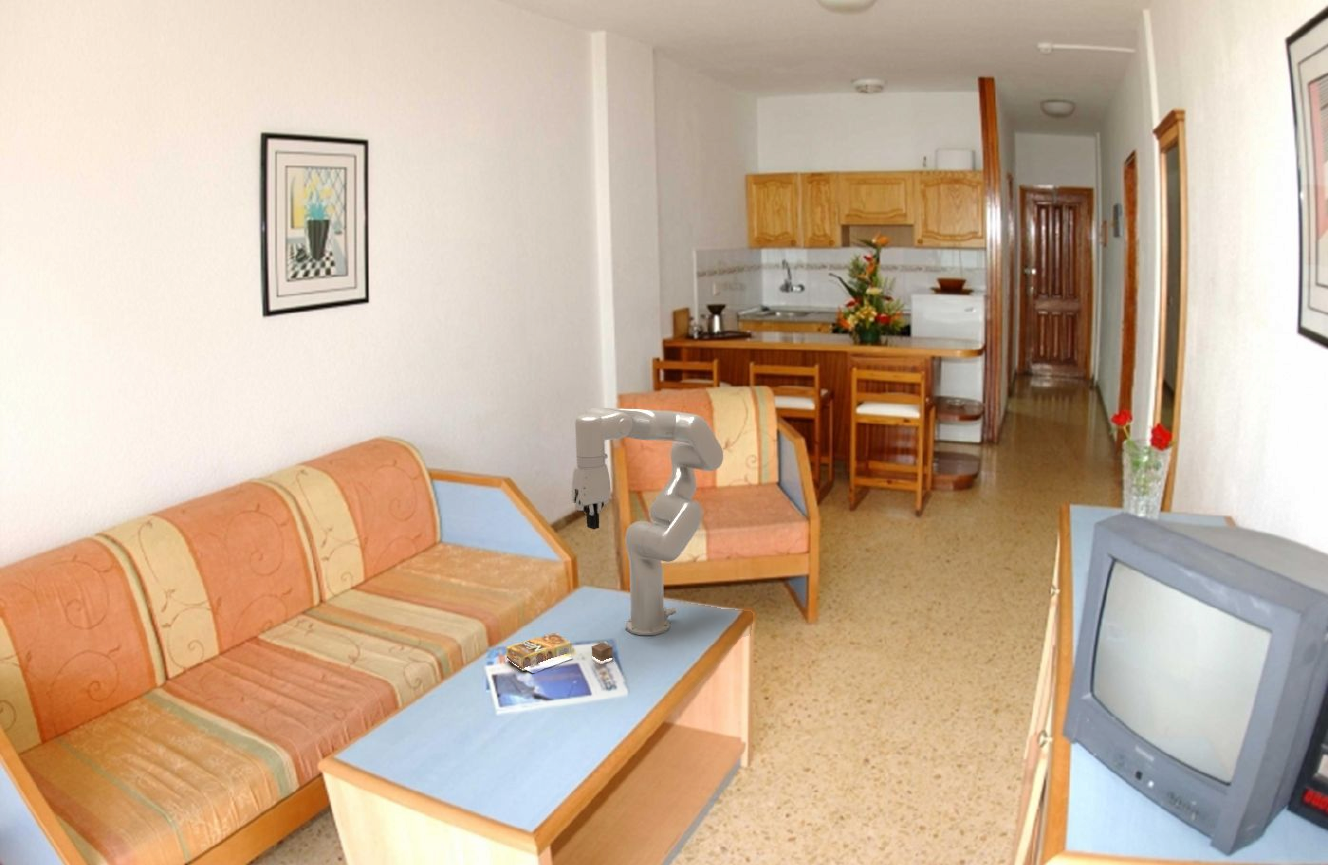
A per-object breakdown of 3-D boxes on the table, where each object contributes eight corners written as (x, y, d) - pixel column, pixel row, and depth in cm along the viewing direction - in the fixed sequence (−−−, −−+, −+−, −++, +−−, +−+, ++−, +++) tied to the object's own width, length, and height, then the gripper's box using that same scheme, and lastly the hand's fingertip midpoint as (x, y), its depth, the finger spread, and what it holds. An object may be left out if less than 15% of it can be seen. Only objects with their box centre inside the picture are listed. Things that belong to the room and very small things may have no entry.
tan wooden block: (603, 655, 274) (603, 642, 273) (613, 660, 271) (612, 646, 270) (592, 660, 271) (591, 646, 270) (601, 665, 268) (600, 651, 267)
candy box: (571, 642, 272) (520, 656, 263) (572, 656, 272) (521, 671, 264) (555, 631, 279) (505, 645, 270) (556, 646, 280) (506, 660, 271)
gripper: (604, 454, 274) (606, 519, 278) (559, 463, 264) (562, 530, 268) (621, 458, 268) (623, 524, 272) (576, 468, 258) (579, 537, 262)
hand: (593, 527), depth 270 cm, fingers closed
